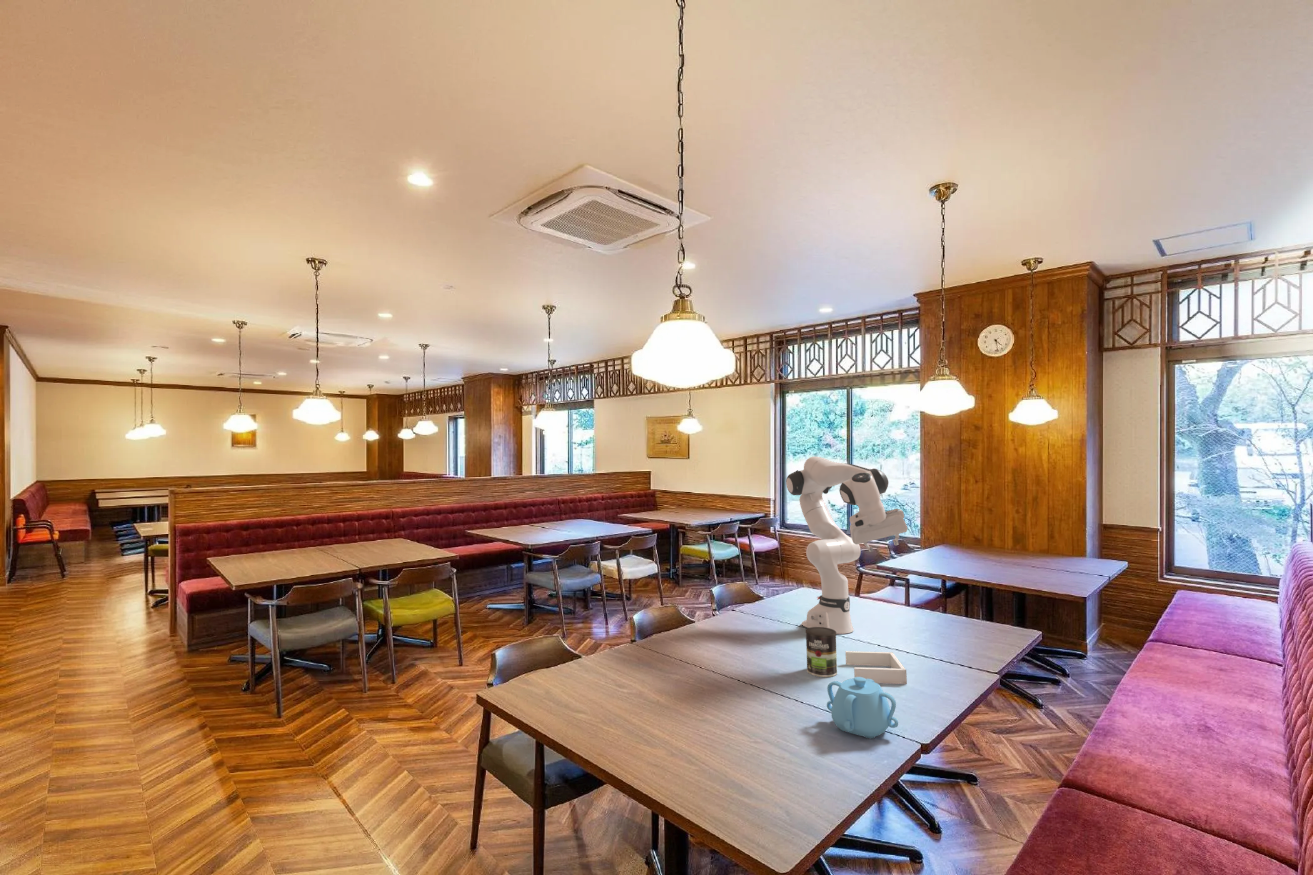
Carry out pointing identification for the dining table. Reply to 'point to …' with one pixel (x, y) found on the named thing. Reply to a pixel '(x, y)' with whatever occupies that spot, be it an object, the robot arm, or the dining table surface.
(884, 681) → the box
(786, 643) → the dining table surface
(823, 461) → the robot arm
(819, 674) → the coffee can
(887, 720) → the decorative pot
